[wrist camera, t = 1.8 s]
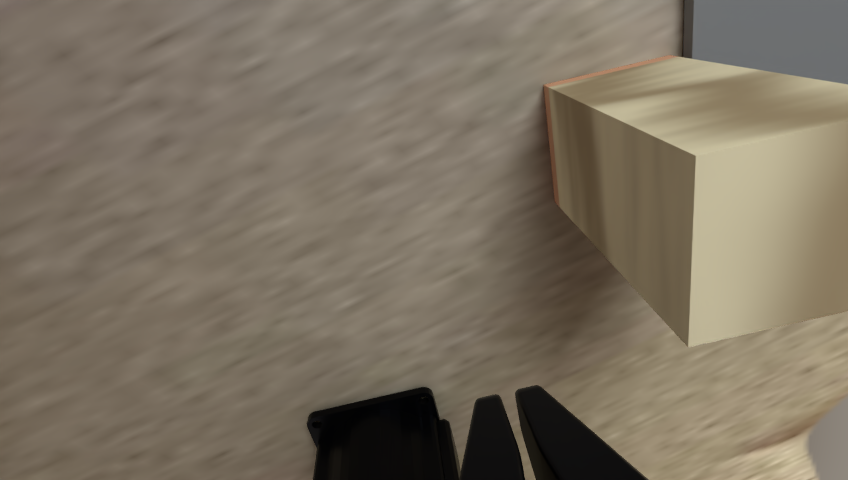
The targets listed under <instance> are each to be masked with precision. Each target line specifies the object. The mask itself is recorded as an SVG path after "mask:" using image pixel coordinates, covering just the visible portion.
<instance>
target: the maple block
mask: <svg viewBox="0 0 848 480" xmlns="http://www.w3.org/2000/svg"><path fill="white" fill-rule="evenodd" d="M543 86H544V96H545V106H546V116H547V126H548V136H549V147H550V157H551V167H552V177H553V187H554V197H555V203H556V204H557V205H558V206H559V207H560V208H561V209H562V210H563V211H564V213H565V214H566V215H567V216H568V217H569V218H570V219H571V220H572V221H573V222H574V223H575V225H576V226H577V227H578V228H579V229H580V230H581V231H582V232H583V233H584V234H585V235H586V237H587V238H588V239H589V240H590V241H591V242H592V243H593V244H594V245H595V246H596V247H597V249H598V250H599V251H600V252H601V253H602V254H603V255H604V256H605V257H606V258H607V259H608V260H609V262H610V263H611V264H612V265H613V266H614V267H615V268H616V269H617V270H618V271H619V272H620V274H621V275H622V276H623V277H624V278H625V279H626V280H627V281H628V282H629V283H630V284H631V286H632V287H633V288H634V289H635V290H636V291H637V292H638V293H639V294H640V295H641V296H642V298H643V299H644V300H645V301H646V302H647V303H648V304H649V305H650V306H651V307H652V308H653V310H654V311H655V312H656V313H657V314H658V315H659V316H660V317H661V318H662V319H663V320H664V322H665V323H666V324H667V325H668V326H669V327H670V328H671V329H672V330H673V331H674V332H675V334H676V335H677V336H678V337H679V338H680V339H681V340H682V341H683V342H684V343H685V344H686V346H687V347H692V346H697V345H701V344H706V343H710V342H714V341H719V340H723V339H728V338H732V337H736V336H741V335H745V334H750V333H754V332H758V331H763V330H767V329H772V328H776V327H780V326H785V325H789V324H794V323H798V322H802V321H807V320H811V319H816V318H820V317H824V316H829V315H833V314H838V313H842V312H846V311H848V84H842V83H836V82H830V81H824V80H818V79H811V78H805V77H799V76H793V75H787V74H781V73H775V72H769V71H763V70H757V69H751V68H745V67H738V66H732V65H726V64H720V63H714V62H708V61H702V60H696V59H690V58H684V57H678V56H672V55H669V56H665V57H660V58H656V59H652V60H648V61H643V62H639V63H635V64H630V65H626V66H622V67H618V68H613V69H609V70H605V71H601V72H596V73H592V74H588V75H584V76H579V77H575V78H571V79H566V80H562V81H558V82H554V83H549V84H545V85H543Z"/></svg>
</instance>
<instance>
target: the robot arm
mask: <svg viewBox="0 0 848 480" xmlns="http://www.w3.org/2000/svg"><path fill="white" fill-rule="evenodd" d="M515 396H516V403H517V409H518V414H519V420H520V426H521V431H522V434H523V438H524V441H525V445H526V448H527V451H528V455H529V458H530V461H531V465H532V468H533V471H534V475H535V478H536V480H648V479H647V478H646V477H645V476H644V475H642V474H641V473H640V472H639V471H638V470H637V469H635V468H634V467H633V466H632V465H631V464H630V463H628V462H627V461H626V460H625V459H624V458H623V457H622V456H620V455H619V454H618V453H617V452H616V451H615V450H613V449H612V448H611V447H610V446H609V445H608V444H606V443H605V442H604V441H603V440H602V439H601V438H600V437H598V436H597V435H596V434H595V433H594V432H593V431H591V430H590V429H589V428H588V427H587V426H586V425H584V424H583V423H582V422H581V421H580V420H579V419H578V418H576V417H575V416H574V415H573V414H572V413H571V412H569V411H568V410H567V409H566V408H565V407H564V406H563V405H561V404H560V403H559V402H558V401H557V400H556V399H554V398H553V397H552V396H551V395H550V394H549V393H547V392H546V391H545V390H544V389H543V388H542V387H540V386H537V385H535V386H530V387H526V388H521V389H518V390H517V391H516V393H515ZM421 397H426V398H424V399H421ZM315 421H320V422H315ZM307 427H308V429H309V431H310V434H311V436H312V438H313V441H314V443H315V445H316V447H317V454H316V462H315V469H314V477H313V480H525V477H524V471H523V466H522V461H521V456H520V452H519V449H518V445H517V442H516V439H515V437H514V434H513V431H512V428H511V425H510V422H509V420H508V417H507V414H506V411H505V408H504V405H503V402H502V400H501V397H500V396H499V395H497V394H495V395H490V396H486V397H482V398H478V399H477V400H476V402H475V405H474V410H473V415H472V420H471V425H470V429H469V434H468V439H467V444H466V449H465V454H464V459H463V464H462V468H461V471H460V465H459V460H458V454H457V450H456V446H455V442H454V439H453V435H452V431H451V427H450V423H449V422H448V421H447V420H445V419H442V420H440V418H439V414H438V410H437V407H436V403H435V399H434V396H433V392H432V390H431V389H429V388H426V387H421V388H416V389H412V390H408V391H403V392H399V393H395V394H390V395H386V396H381V397H377V398H373V399H368V400H364V401H360V402H355V403H351V404H346V405H342V406H338V407H333V408H329V409H324V410H320V411H316V412H313V413H311V414H310V415H309V417H308V421H307Z"/></svg>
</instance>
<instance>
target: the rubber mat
mask: <svg viewBox="0 0 848 480" xmlns="http://www.w3.org/2000/svg"><path fill="white" fill-rule="evenodd" d="M683 57H684V58H690V59H696V60H702V61H708V62H714V63H720V64H726V65H732V66H738V67H745V68H751V69H757V70H763V71H769V72H775V73H781V74H787V75H793V76H799V77H805V78H811V79H818V80H824V81H830V82H836V83H842V84H848V0H684V40H683Z"/></svg>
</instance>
